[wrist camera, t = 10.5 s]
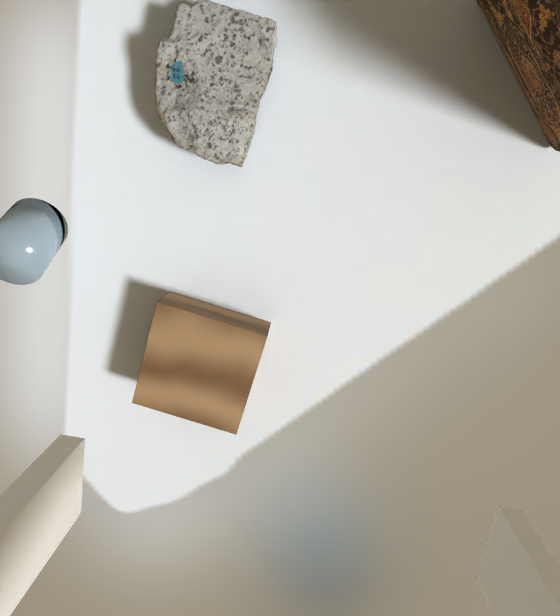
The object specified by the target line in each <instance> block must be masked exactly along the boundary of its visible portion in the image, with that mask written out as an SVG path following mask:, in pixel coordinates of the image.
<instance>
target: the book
mask: <svg viewBox="0 0 560 616" xmlns="http://www.w3.org/2000/svg"><path fill="white" fill-rule="evenodd" d="M477 4H478V6H479V8H480V9H481V11H482V13H483V15H484V17H485V19H486V21H487V23H488V25H489V27H490V29H491V31H492V33H493V35H494V37H495V39H496V41H497V43H498V45H499V47H500V48H501V50H502V52H503V54H504V56H505V58H506V60H507V62H508V64H509V66H510V68H511V70H512V72H513V74H514V76H515V78H516V80H517V82H518V84H519V86H520V87H521V89H522V91H523V93H524V95H525V97H526V99H527V101H528V103H529V105H530V107H531V109H532V111H533V113H534V115H535V117H536V119H537V120H538V122H539V124H540V126H541V128H542V130H543V132H544V133H545V135H546V137H547V139H548V141H549V143H550V144H551V146H552V147H553V148H554V149H555V150H557V151H560V0H477Z"/></svg>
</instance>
